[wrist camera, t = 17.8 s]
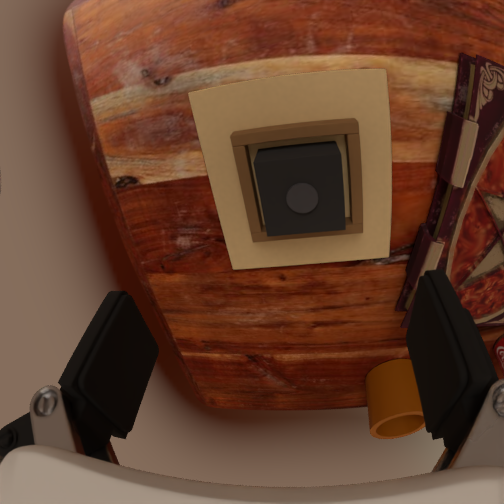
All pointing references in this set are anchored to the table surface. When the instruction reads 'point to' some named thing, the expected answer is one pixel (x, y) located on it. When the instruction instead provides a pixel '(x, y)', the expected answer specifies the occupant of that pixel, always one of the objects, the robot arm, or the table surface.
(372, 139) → the base pad
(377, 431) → the mug
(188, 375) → the table surface
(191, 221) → the table surface
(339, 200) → the black square block
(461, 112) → the book
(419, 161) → the table surface
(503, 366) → the soda can
